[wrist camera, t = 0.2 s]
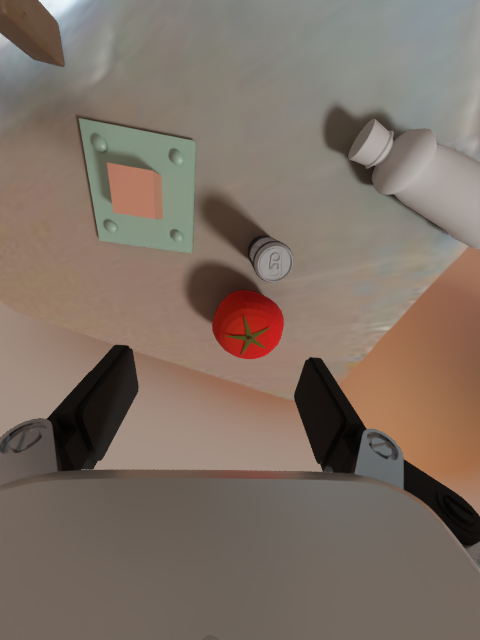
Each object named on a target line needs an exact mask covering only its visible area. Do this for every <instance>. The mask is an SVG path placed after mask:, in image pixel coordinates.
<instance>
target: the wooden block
mask: <svg viewBox="0 0 480 640" xmlns="http://www.w3.org/2000/svg"><path fill="white" fill-rule="evenodd" d="M0 33H1V34H3V35H4V36H5V37H6V38H8V39H9V40H10V41H11V42H13V43H14V44H15V45H16V46H18V47H19V48H20V49H21V50H23V51H24V52H25V53H26V54H27V55H29V56H30V57H31V58H33V59H34V60H38V61H42V62H46V63H50V64H53V65H57V66H61V67H64V58H63V51H62V45H61V38H60V32H59V26H58V23H57V21H56V20H55V19H54V17H53V16H52V15H51V14H50V13H49V12H48V11H47V10H46V8H45V7H44V6H43V5H42V4H41V3H40V2H39V1H38V0H0Z"/></svg>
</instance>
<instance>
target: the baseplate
mask: <svg viewBox="0 0 480 640" xmlns="http://www.w3.org/2000/svg"><path fill="white" fill-rule="evenodd" d="M79 123H80V129H81V135H82V141H83V147H84V153H85V159H86V164H87V170H88V176H89V182H90V188H91V194H92V200H93V206H94V212H95V218H96V224H97V230H98V235H99V241H106V242H114V243H121V244H128V245H135V246H143V247H150V248H157V249H164V250H172V251H179V252H186V253H193V233H194V203H195V172H196V141H193V140H188V139H183V138H177V137H172V136H167V135H162V134H157V133H152V132H147V131H142V130H137V129H132V128H127V127H122V126H117V125H112V124H106V123H101V122H96V121H91V120H86V119H81V118H79ZM107 163H112V164H118V165H124V166H129V167H135V168H141V169H146V170H152V171H154V172H156V173H158V174H159V175H161V176H162V202H163V219H152V218H145V217H139V216H132V215H126V214H119V213H113V206H112V198H111V191H110V183H109V176H108V168H107Z"/></svg>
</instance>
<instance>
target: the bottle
mask: <svg viewBox="0 0 480 640" xmlns="http://www.w3.org/2000/svg"><path fill="white" fill-rule="evenodd" d="M393 135H394V131H392V130H391V131H388V130H387V129H386V128H384V127H383V126H382V125H381V124H380V123H379V122H378V121H376V120H375V119H372V120H370V121H369V122H368V123H367V124H366V125H365V126H364V128H363V129H362V130H361V132H360V133H359V135H358V136H357V138H356V139H355V141H354V143H353V145H352V147H351V149H350V152H349V154H348V159H350V160H352V161H355V162H358V163H360V164H363V165H365V168H366V169H368V168H370V167H372V166H375V168H374V171H373V174H372V182H373V184H374V187H375V189H376V191H378V192H379V193H381V194H386V195H390V194H394V195H395V196H396V197H397V198H398V199H399V200H400V201H401V202H402V203H403V204H405V205H406V206H408V207H409V208H411V209H413V210H414V211H416V212H417V213H419V214H420V215H422V216H424V217H425V218H427V219H428V220H430V221H431V222H433V223H435V224H436V225H438V226H439V227H441V228H442V229H444V230H445V231H446V232H447V233H448V234H449V235H450V236H452V237H453V238H454V239H456V240H458V241H460V242H462V243H464V244H466V245H468V246H470V247H471V248H477V249H480V162H478V161H476V160H474V159H473V158H471V157H469V156H467V155H465V154H463V153H461V152H459V151H458V150H456V149H453V148H449V147H445V146H441V145H437V142H436V136H435V135H434V134H433V132H432V131H431V130H430V129H425V128H424V129H413V130H408V131H406V132H404V133H403V134H401V135H400V136H399V137H398V138H397V139H396V140H394V141H393Z"/></svg>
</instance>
